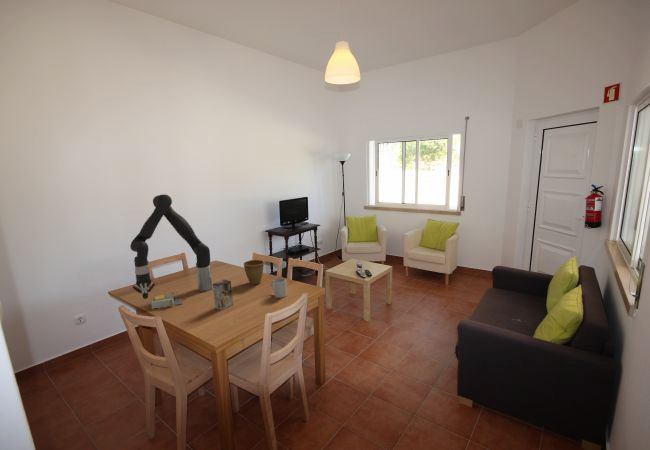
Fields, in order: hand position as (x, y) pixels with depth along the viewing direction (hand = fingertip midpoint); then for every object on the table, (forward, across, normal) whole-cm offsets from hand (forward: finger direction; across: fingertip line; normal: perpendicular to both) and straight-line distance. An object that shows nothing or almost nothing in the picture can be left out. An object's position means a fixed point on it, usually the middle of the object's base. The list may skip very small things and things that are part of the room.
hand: (145, 298), depth 199 cm
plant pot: (+5, -70, -13) cm, 72 cm away
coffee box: (+6, -46, +19) cm, 50 cm away
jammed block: (+6, -8, 0) cm, 10 cm away
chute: (+6, -12, 0) cm, 13 cm away
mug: (+5, -82, +16) cm, 83 cm away
